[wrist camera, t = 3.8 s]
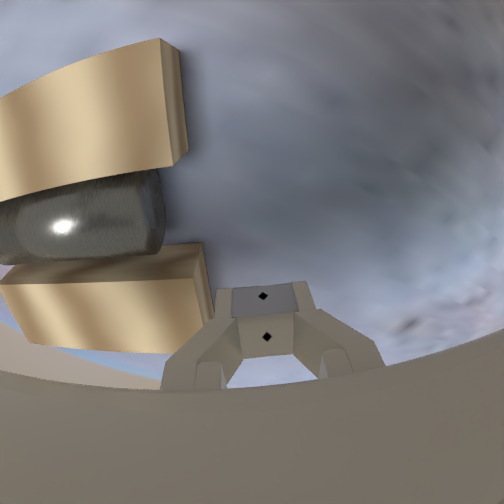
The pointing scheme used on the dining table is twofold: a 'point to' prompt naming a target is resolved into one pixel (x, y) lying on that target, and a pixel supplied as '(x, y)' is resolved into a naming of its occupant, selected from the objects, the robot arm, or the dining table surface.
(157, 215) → the axle
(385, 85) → the dining table surface
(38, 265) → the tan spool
